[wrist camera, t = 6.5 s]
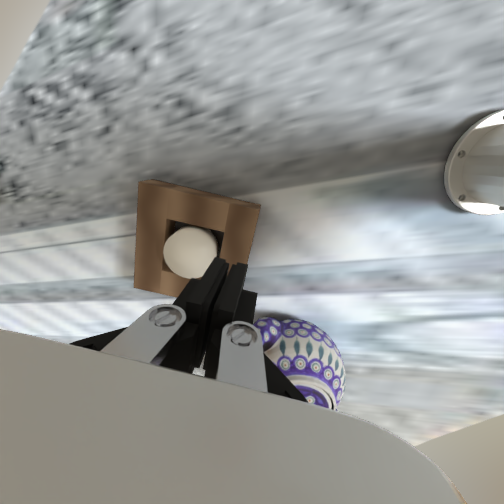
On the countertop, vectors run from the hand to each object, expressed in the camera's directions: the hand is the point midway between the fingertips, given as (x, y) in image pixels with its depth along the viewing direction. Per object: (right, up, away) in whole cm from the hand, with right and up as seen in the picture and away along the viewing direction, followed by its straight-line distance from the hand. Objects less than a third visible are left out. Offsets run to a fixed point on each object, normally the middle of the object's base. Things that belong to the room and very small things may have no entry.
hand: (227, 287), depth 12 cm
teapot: (+8, -15, +32) cm, 36 cm away
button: (-7, +2, +24) cm, 25 cm away
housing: (-7, +3, +26) cm, 27 cm away
